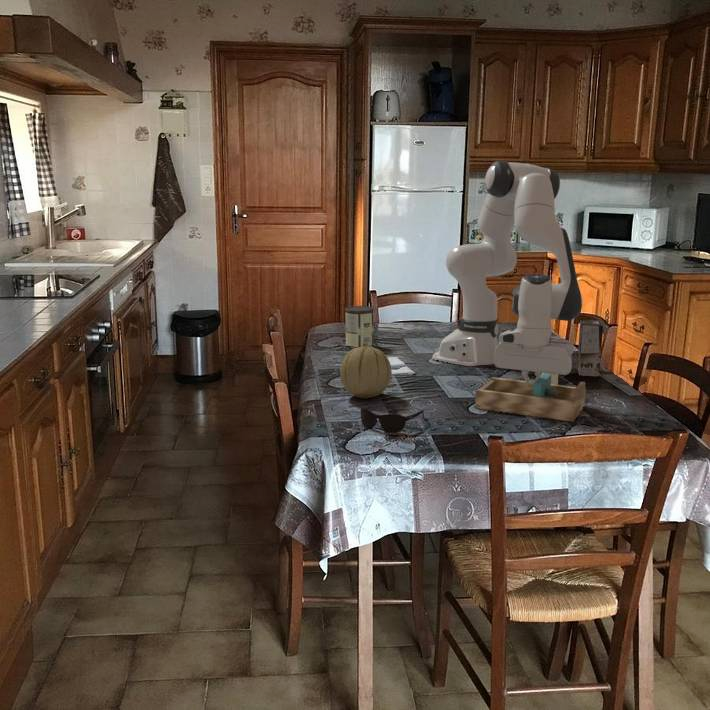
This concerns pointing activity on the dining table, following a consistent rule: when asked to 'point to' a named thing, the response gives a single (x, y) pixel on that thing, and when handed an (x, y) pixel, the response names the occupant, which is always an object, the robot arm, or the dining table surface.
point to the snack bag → (396, 362)
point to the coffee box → (590, 347)
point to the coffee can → (359, 326)
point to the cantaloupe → (365, 372)
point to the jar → (553, 378)
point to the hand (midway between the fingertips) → (531, 386)
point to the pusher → (544, 387)
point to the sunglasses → (385, 418)
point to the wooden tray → (530, 399)
